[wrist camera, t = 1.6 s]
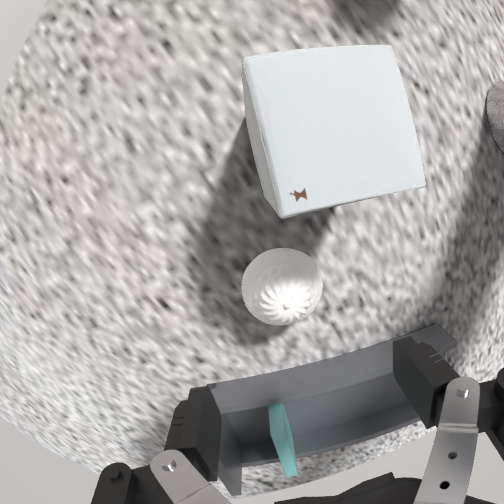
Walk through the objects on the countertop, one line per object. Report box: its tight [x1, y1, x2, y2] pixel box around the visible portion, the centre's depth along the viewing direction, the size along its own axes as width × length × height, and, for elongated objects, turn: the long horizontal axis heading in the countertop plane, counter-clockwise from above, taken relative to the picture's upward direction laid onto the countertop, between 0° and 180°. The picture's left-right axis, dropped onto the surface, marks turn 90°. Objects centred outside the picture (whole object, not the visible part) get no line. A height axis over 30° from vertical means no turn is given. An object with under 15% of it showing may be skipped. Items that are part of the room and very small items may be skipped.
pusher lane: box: [207, 323, 456, 496], centre depth 26 cm, size 25×10×8 cm, turn 104°
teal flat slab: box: [268, 403, 298, 477], centre depth 26 cm, size 1×8×6 cm, turn 14°
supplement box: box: [242, 45, 426, 219], centre depth 18 cm, size 7×7×13 cm
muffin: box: [241, 248, 323, 325], centre depth 23 cm, size 6×6×7 cm
